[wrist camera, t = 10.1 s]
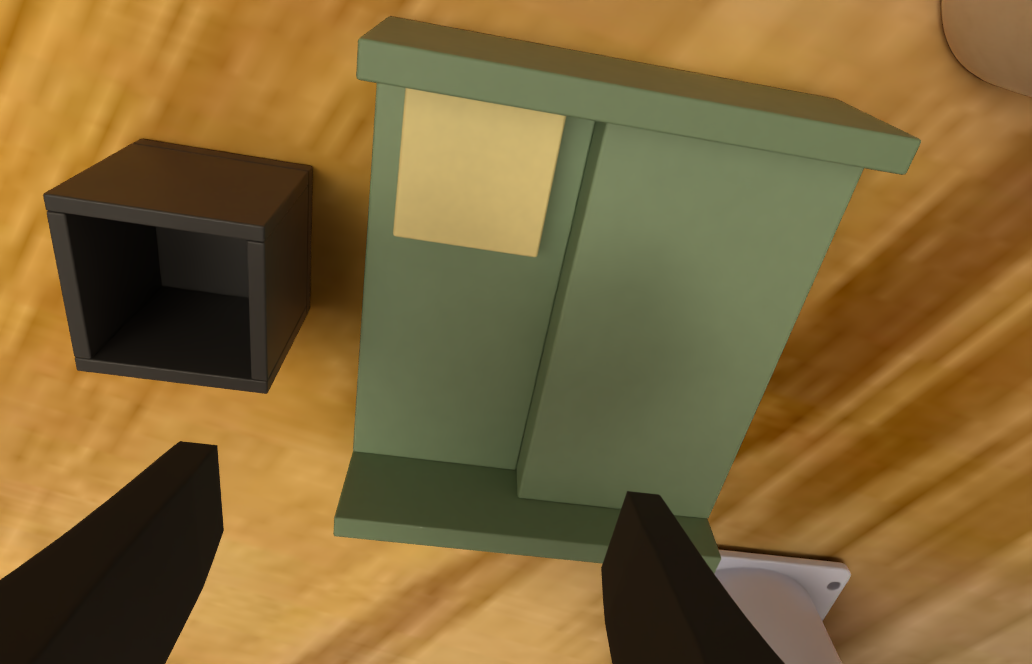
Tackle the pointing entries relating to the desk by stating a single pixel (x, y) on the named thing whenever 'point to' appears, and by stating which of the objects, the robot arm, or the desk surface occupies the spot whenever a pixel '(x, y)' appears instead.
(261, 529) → the desk surface
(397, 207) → the note pad
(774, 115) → the shelf
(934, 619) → the desk surface
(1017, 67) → the candle
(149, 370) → the holder
